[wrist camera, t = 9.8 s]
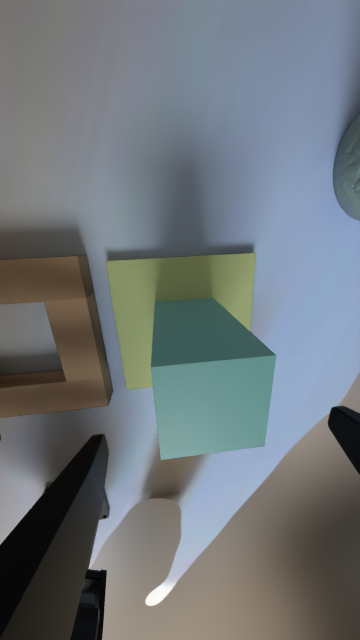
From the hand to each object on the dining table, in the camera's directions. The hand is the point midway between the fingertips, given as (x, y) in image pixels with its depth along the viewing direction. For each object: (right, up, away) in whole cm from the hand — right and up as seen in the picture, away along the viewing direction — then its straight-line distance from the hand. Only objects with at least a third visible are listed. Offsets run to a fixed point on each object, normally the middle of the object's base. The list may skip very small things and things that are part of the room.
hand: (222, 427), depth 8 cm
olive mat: (-1, +4, +11) cm, 12 cm away
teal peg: (-1, +4, +10) cm, 11 cm away
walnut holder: (-15, +3, +10) cm, 18 cm away
